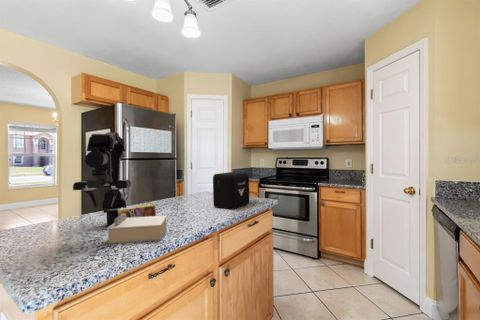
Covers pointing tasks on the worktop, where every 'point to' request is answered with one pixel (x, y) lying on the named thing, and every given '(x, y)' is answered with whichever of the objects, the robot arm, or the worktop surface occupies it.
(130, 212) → the candy box
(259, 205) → the worktop surface
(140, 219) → the lid
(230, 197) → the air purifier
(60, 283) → the worktop surface
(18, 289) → the worktop surface
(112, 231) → the box
